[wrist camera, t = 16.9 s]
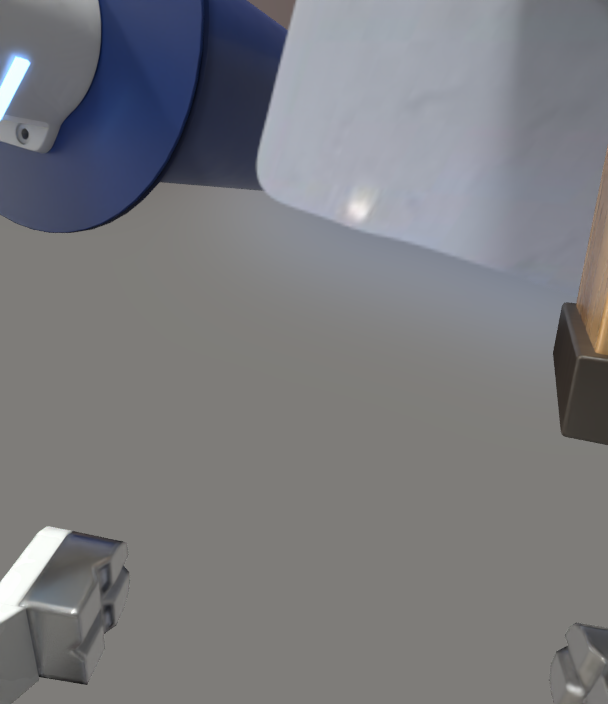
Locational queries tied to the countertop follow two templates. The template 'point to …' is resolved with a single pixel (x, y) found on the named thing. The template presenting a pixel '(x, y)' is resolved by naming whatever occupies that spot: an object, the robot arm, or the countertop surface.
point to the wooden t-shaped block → (586, 339)
